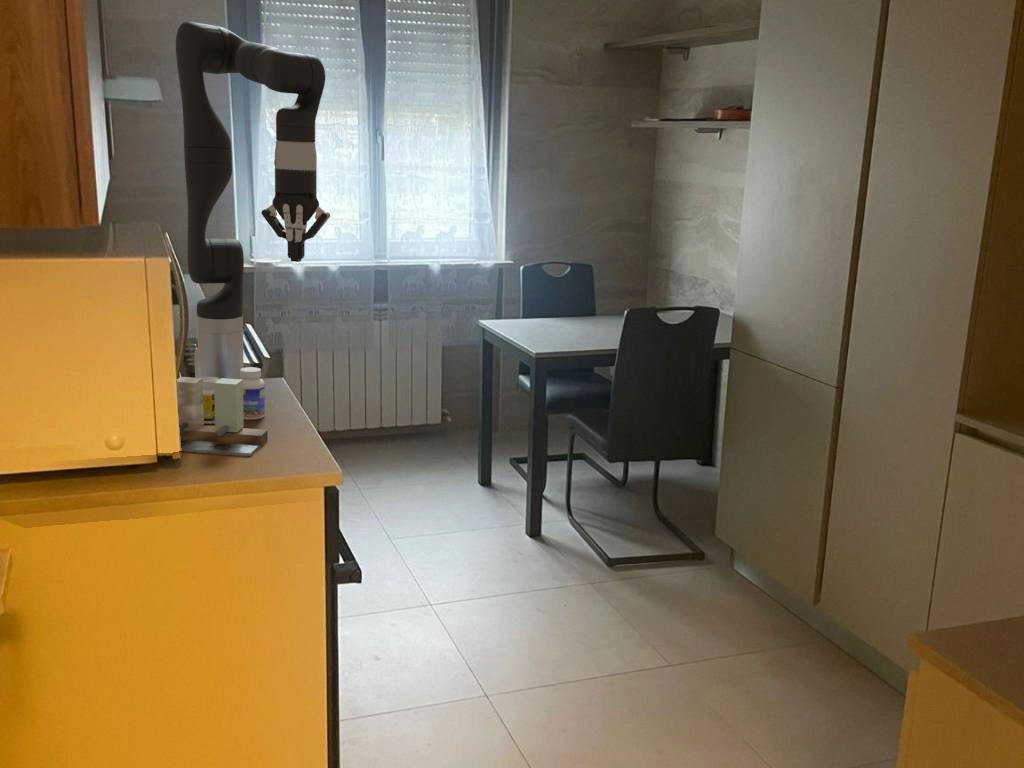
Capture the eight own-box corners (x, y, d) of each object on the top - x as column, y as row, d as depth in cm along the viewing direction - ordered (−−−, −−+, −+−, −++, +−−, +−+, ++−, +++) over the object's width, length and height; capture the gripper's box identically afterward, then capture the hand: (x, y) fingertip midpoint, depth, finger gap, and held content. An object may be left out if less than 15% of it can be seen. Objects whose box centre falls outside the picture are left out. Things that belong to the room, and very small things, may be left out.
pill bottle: (233, 419, 189) (232, 371, 187) (241, 411, 194) (240, 365, 192) (260, 421, 189) (259, 373, 187) (268, 413, 194) (267, 367, 192)
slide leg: (208, 436, 171) (207, 387, 169) (222, 425, 178) (221, 378, 176) (230, 438, 171) (229, 389, 169) (243, 426, 178) (242, 379, 175)
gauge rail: (167, 445, 172) (165, 386, 169) (183, 433, 179) (181, 376, 176) (255, 452, 171) (254, 392, 168) (267, 440, 178) (267, 382, 175)
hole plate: (161, 450, 170) (161, 446, 169) (173, 441, 174) (172, 437, 174) (250, 456, 169) (250, 453, 169) (259, 447, 174) (259, 444, 173)
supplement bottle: (214, 425, 185) (213, 383, 183) (192, 422, 186) (191, 380, 184) (227, 418, 189) (226, 377, 187) (204, 416, 190) (203, 375, 188)
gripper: (336, 168, 180) (335, 261, 184) (266, 164, 181) (267, 256, 185) (326, 169, 173) (325, 266, 177) (253, 165, 173) (255, 261, 178)
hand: (295, 261), depth 181 cm, fingers closed
